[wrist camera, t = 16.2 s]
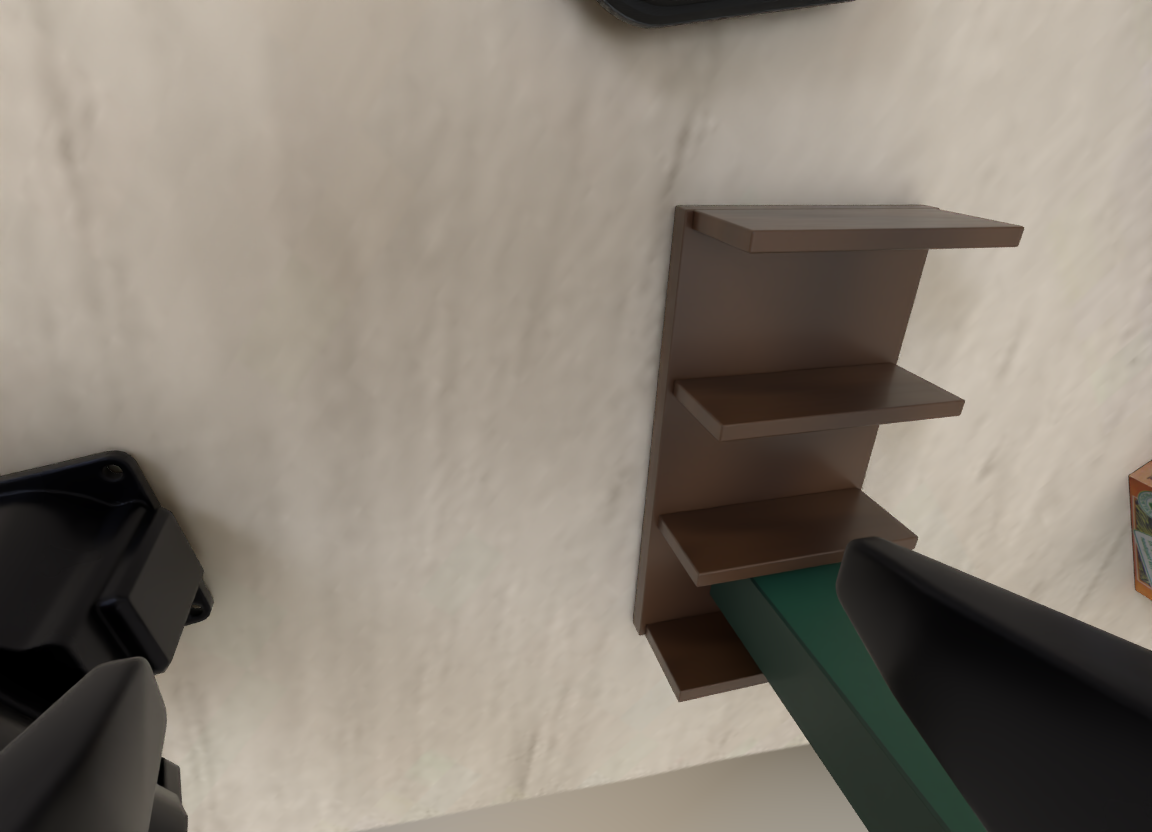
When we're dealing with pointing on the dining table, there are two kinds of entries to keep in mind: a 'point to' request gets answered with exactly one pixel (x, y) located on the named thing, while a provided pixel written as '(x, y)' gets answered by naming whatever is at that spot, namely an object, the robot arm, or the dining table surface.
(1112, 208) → the dining table surface
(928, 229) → the book rack
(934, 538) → the dining table surface
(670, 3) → the carrying case
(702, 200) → the dining table surface
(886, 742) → the green rectangular block
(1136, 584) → the milk carton
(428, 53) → the dining table surface
